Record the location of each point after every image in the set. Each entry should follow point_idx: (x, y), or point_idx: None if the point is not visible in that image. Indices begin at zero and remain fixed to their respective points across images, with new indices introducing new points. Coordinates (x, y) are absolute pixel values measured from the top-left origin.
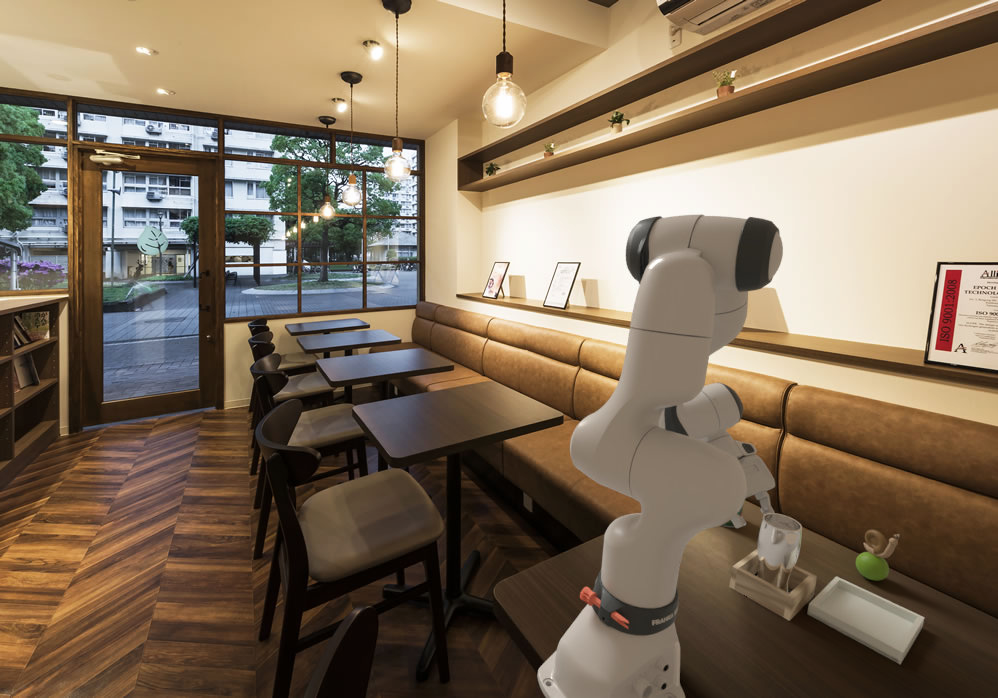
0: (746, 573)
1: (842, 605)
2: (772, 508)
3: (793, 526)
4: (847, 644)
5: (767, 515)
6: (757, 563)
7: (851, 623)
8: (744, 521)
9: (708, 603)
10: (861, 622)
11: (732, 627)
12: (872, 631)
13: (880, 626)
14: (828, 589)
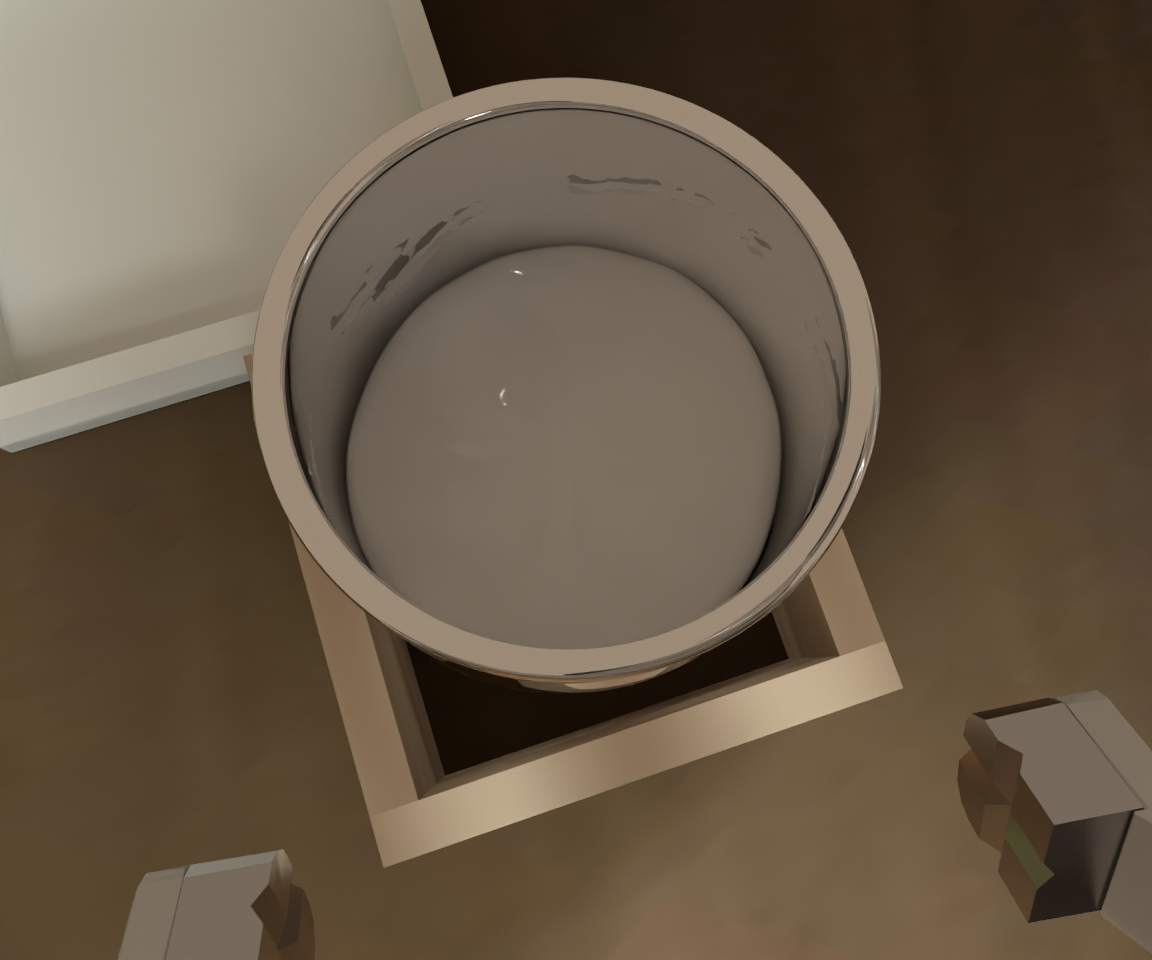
0: (844, 567)
1: (210, 262)
2: (128, 940)
3: (298, 390)
4: (515, 58)
5: (593, 652)
6: (469, 773)
7: (412, 52)
8: (1026, 733)
9: (1124, 583)
10: (260, 120)
11: (1111, 356)
12: (279, 49)
13: (179, 63)
14: (202, 334)
